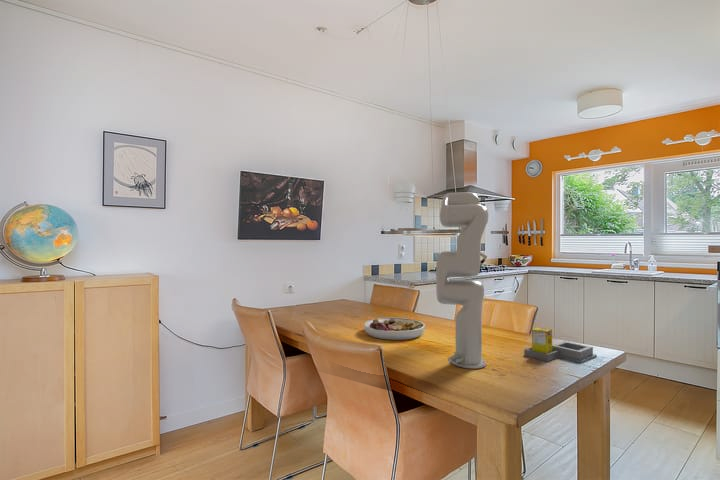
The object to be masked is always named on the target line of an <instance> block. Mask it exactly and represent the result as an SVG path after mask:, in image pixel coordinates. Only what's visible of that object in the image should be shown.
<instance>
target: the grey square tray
mask: <svg viewBox="0 0 720 480" xmlns="http://www.w3.org/2000/svg"><path fill="white" fill-rule="evenodd" d="M523 354H524V356H525V357H529V358H533V359H537V360H541V361H544V362H550V361H553V360H556V359H558V358H559V355H560V351H559V350H555V349H552V352H551V353H548V354H545V353H541V352H537V351H533V350H532V346H530V347H527V348H524V349H523Z"/></svg>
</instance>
